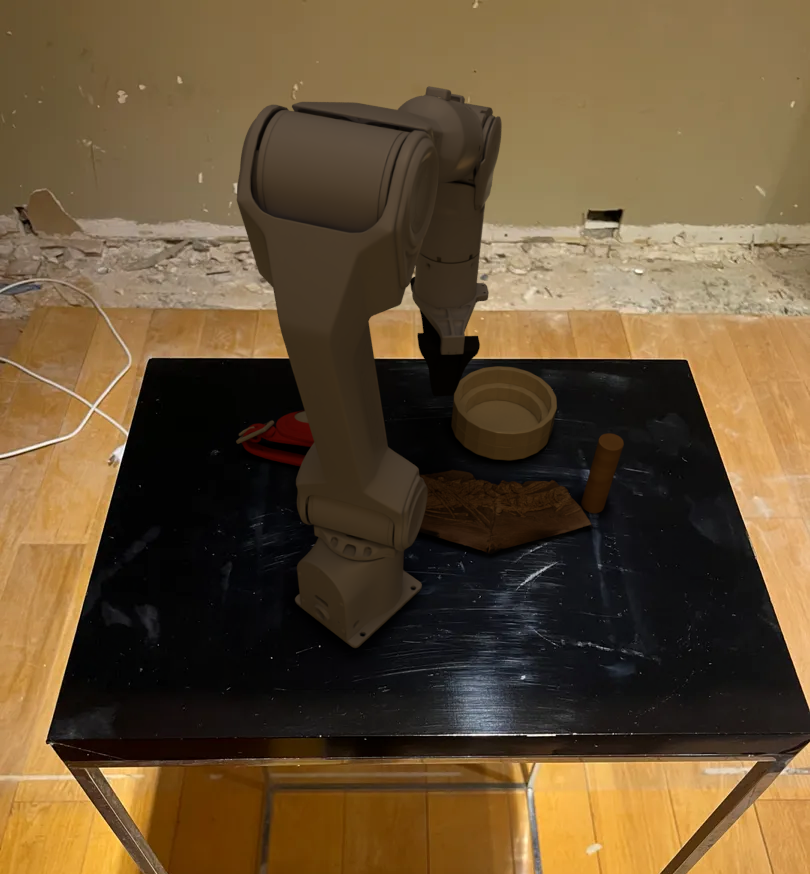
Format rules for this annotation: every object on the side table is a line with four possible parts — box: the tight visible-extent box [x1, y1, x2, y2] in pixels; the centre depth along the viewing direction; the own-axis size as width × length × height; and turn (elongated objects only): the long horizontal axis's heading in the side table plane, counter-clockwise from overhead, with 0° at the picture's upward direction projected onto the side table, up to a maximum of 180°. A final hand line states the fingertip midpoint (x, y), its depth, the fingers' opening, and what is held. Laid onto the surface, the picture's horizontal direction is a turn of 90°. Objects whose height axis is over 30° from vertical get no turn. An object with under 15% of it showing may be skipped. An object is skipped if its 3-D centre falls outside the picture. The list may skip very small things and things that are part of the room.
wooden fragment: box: [418, 469, 594, 555], centre depth 84 cm, size 26×11×1 cm, turn 84°
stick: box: [580, 432, 625, 514], centre depth 83 cm, size 2×2×9 cm
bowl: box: [450, 365, 558, 461], centre depth 92 cm, size 11×11×4 cm
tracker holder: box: [235, 409, 314, 468], centre depth 89 cm, size 12×4×10 cm
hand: (439, 369), depth 84 cm, fingers open, 7 cm apart
